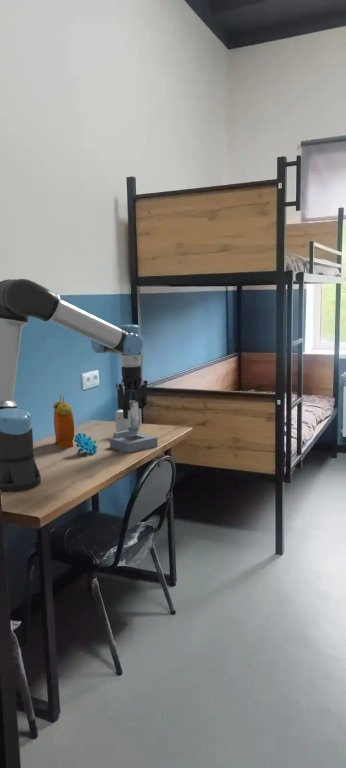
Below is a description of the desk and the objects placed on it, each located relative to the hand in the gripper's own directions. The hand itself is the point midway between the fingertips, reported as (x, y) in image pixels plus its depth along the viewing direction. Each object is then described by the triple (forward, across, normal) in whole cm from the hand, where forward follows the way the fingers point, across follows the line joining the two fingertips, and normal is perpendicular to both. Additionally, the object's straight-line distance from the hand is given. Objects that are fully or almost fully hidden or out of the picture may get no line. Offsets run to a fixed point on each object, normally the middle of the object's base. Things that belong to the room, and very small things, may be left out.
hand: (133, 425), depth 226 cm
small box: (+9, +9, +17) cm, 21 cm away
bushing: (+2, 0, 0) cm, 2 cm away
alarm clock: (+8, -18, +22) cm, 30 cm away
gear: (+9, -18, +5) cm, 21 cm away
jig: (+8, 0, 0) cm, 8 cm away
